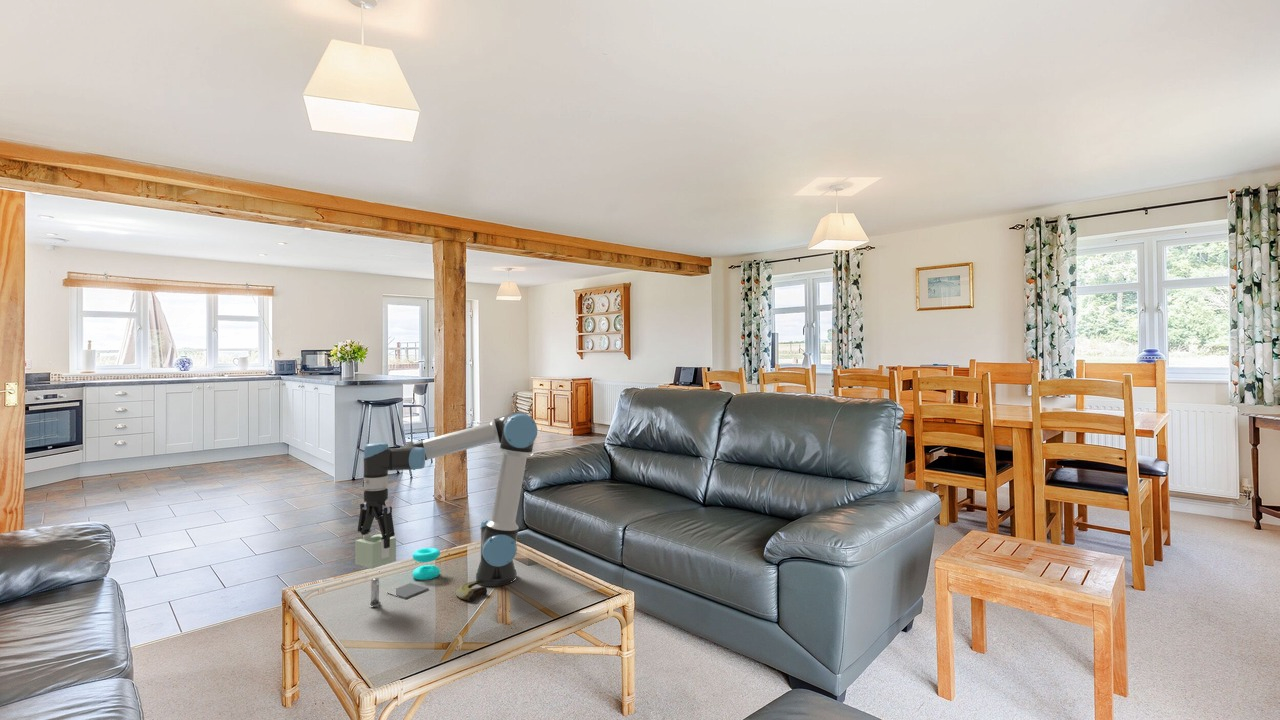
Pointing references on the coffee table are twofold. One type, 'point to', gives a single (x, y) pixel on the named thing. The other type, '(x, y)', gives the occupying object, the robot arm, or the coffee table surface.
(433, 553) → the donuts
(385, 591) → the coffee table surface
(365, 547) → the sage cube with slot
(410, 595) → the mat
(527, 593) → the coffee table surface
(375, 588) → the post stand
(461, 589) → the claw
